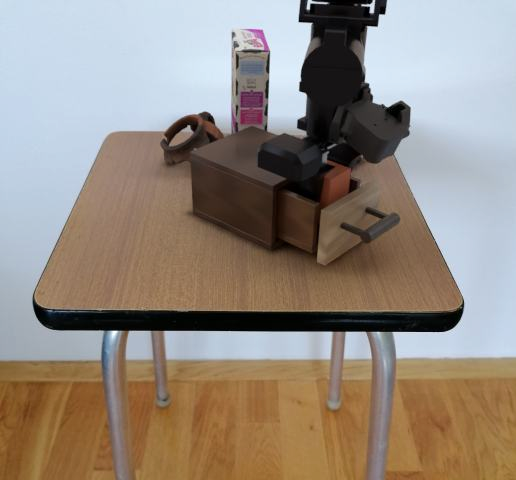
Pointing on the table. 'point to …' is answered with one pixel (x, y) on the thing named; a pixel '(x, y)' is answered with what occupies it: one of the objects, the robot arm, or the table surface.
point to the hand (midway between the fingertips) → (323, 205)
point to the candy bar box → (249, 79)
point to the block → (334, 186)
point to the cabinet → (237, 186)
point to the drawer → (332, 220)
